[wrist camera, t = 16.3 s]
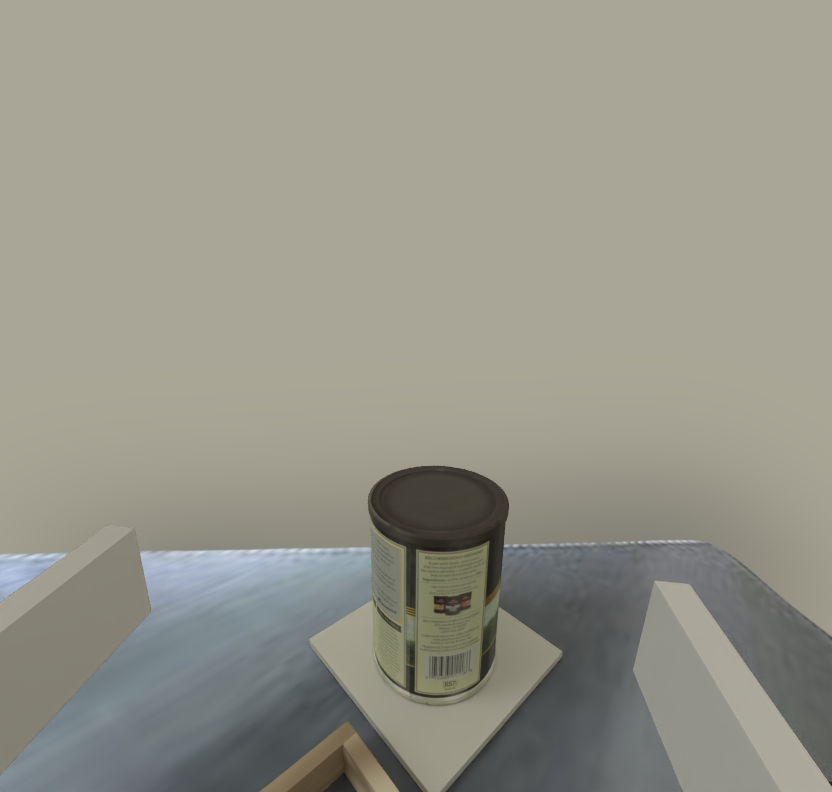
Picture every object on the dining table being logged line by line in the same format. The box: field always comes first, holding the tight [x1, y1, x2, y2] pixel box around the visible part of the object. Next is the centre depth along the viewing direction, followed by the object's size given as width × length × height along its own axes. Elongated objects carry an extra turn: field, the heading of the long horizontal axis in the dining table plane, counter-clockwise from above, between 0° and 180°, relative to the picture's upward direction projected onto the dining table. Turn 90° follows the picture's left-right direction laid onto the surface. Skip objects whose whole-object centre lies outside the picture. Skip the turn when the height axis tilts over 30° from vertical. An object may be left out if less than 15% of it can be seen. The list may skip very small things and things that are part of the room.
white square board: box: [309, 600, 563, 792], centre depth 35 cm, size 15×15×1 cm
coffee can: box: [368, 466, 509, 705], centre depth 33 cm, size 10×10×14 cm
